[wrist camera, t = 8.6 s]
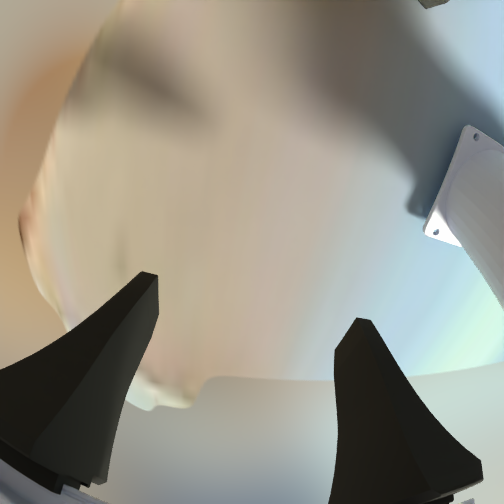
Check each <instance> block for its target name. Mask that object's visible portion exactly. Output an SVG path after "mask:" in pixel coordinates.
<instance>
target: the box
mask: <svg viewBox="0 0 504 504" xmlns="http://www.w3.org/2000/svg"><path fill="white" fill-rule="evenodd" d="M418 1H419V2H420V3H421V4H422V5H423V6H424V7H425V8H426V9H428V8H431V7H434V6H438V5H441V4H445V3H447V2H448V1H449V0H418Z"/></svg>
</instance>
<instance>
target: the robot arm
mask: <svg viewBox="0 0 504 504" xmlns="http://www.w3.org/2000/svg"><path fill="white" fill-rule="evenodd" d="M475 133H476V138H475V139H474V138H473V137H474V134H475ZM435 229H437V230H436V232H433V231H434V230H435ZM423 232H424V233H425V235H426V236H429V237H432V238H435V239H438V240H441V241H444V242H447V243H450V244H453V245H456V246H459V247H462V248H464V250H465V251H466V253H467V254H468V255H469V257H470V258H471V260H472V261H473V263H474V264H475V265H476V267H477V268H478V270H479V271H480V273H481V274H482V276H483V277H484V279H485V280H486V282H487V284H488V285H489V287H490V288H491V290H492V291H493V293H494V295H495V296H496V298H497V300H498V301H499V303H500V305H501V307H502V308H503V310H504V146H502V145H501V144H499V143H498V142H496V141H495V140H493V139H492V138H490V137H489V136H487V135H486V134H484V133H483V132H481V131H479V130H478V129H476V128H474V127H473V126H471V125H466V126H464V128H463V130H462V133H461V136H460V139H459V142H458V144H457V147H456V150H455V153H454V155H453V158H452V161H451V163H450V166H449V169H448V171H447V174H446V176H445V179H444V181H443V183H442V186H441V188H440V190H439V193H438V195H437V197H436V200H435V202H434V204H433V206H432V208H431V211H430V213H429V215H428V217H427V219H426V221H425V223H424V225H423ZM158 315H159V301H158V275H155V274H151V273H147V272H143V271H142V272H140V273H139V274H138V275H137V276H136V277H134V278H133V279H132V280H131V281H130V282H129V283H128V284H127V285H126V286H124V287H123V288H122V289H121V290H120V291H119V292H118V293H117V294H115V295H114V296H113V297H112V298H111V299H110V300H108V301H107V302H106V303H105V304H104V305H103V306H101V307H100V308H99V309H98V310H97V311H95V312H94V313H93V314H92V315H90V316H89V317H88V318H87V319H85V320H84V321H83V322H81V323H80V324H79V325H78V326H76V327H75V328H73V329H72V330H71V331H69V332H68V333H66V334H65V335H63V336H62V337H60V338H59V339H57V340H56V341H54V342H53V343H51V344H50V345H48V346H46V347H44V348H43V349H41V350H40V351H38V352H36V353H34V354H32V355H30V356H28V357H26V358H24V359H22V360H20V361H18V362H16V363H15V364H12V365H10V366H8V367H6V368H3V369H1V370H0V504H110V503H107V502H105V501H102V500H100V499H97V498H95V497H92V496H90V495H88V494H86V493H83V492H81V491H79V488H80V485H84V486H86V487H88V488H89V487H90V484H91V482H93V483H95V484H97V485H100V484H103V483H105V482H107V476H108V469H109V463H110V457H111V452H112V448H113V443H114V438H115V434H116V430H117V426H118V422H119V418H120V414H121V411H122V407H123V404H124V401H125V397H126V394H127V392H128V389H129V386H130V384H131V382H132V379H133V377H134V375H135V373H136V370H137V368H138V366H139V364H140V361H141V359H142V357H143V355H144V353H145V350H146V348H147V346H148V344H149V342H150V339H151V337H152V334H153V331H154V328H155V325H156V322H157V318H158ZM334 382H335V395H336V407H337V420H338V440H337V454H336V464H335V472H334V478H333V483H332V489H331V495H330V498H329V502H328V504H449V503H450V502H453V500H454V496H453V494H455V493H457V492H460V491H462V490H465V489H467V488H469V487H472V486H474V485H476V484H478V483H480V482H482V481H483V471H482V464H481V460H480V459H478V458H477V457H476V456H475V455H473V454H472V453H471V452H470V451H468V450H467V449H466V448H465V447H463V446H462V445H461V444H460V443H459V442H458V441H457V440H456V439H455V438H454V437H453V436H452V435H451V434H450V433H449V432H448V431H447V430H446V429H445V428H444V427H443V426H442V425H441V424H440V422H439V421H438V420H437V419H436V418H435V417H434V416H433V414H432V413H431V412H430V411H429V409H428V408H427V407H426V405H425V404H424V403H423V402H422V400H421V399H420V398H419V396H418V395H417V393H416V392H415V390H414V389H413V387H412V386H411V384H410V383H409V381H408V380H407V378H406V377H405V375H404V374H403V372H402V371H401V369H400V367H399V366H398V364H397V362H396V361H395V359H394V358H393V356H392V354H391V352H390V351H389V349H388V347H387V346H386V344H385V342H384V341H383V339H382V337H381V336H380V334H379V332H378V331H377V329H376V328H375V326H374V324H373V323H372V321H371V320H368V319H362V318H356V319H355V320H354V322H353V324H352V325H351V327H350V328H349V330H348V331H347V333H346V334H345V336H344V337H343V339H342V340H341V342H340V343H339V344H338V346H337V347H336V349H335V354H334ZM459 504H474V499H473V498H472V499H469V500H467V501H464V502H461V503H459Z"/></svg>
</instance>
